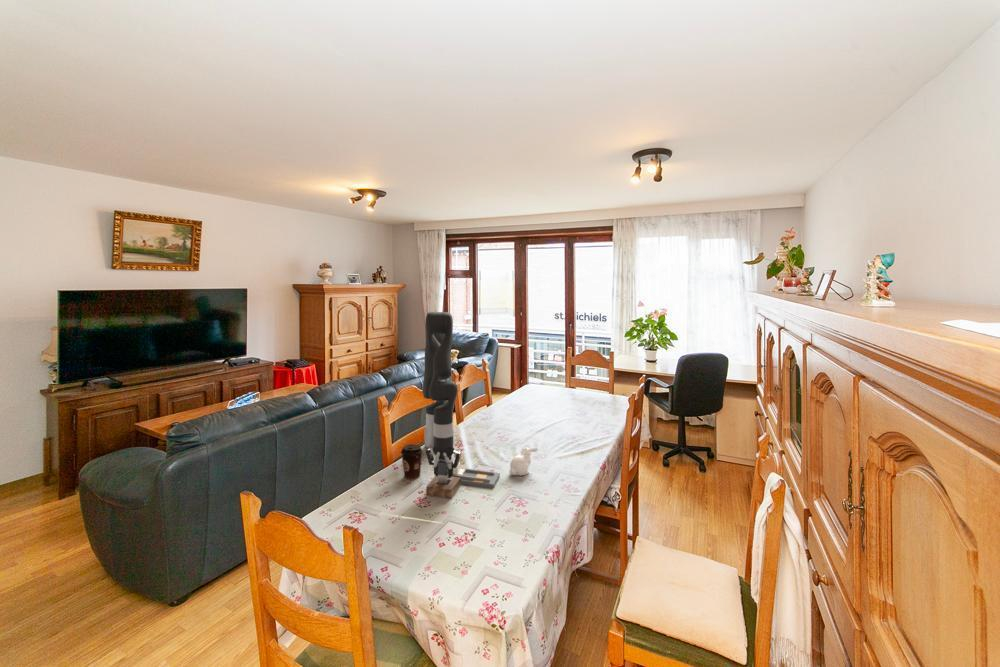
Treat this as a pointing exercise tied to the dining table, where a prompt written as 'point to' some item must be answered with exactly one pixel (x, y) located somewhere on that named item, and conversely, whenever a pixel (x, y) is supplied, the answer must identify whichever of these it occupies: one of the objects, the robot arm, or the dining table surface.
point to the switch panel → (478, 478)
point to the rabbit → (521, 462)
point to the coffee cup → (411, 461)
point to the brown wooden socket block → (443, 487)
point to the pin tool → (443, 472)
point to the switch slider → (458, 470)
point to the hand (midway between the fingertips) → (443, 476)
